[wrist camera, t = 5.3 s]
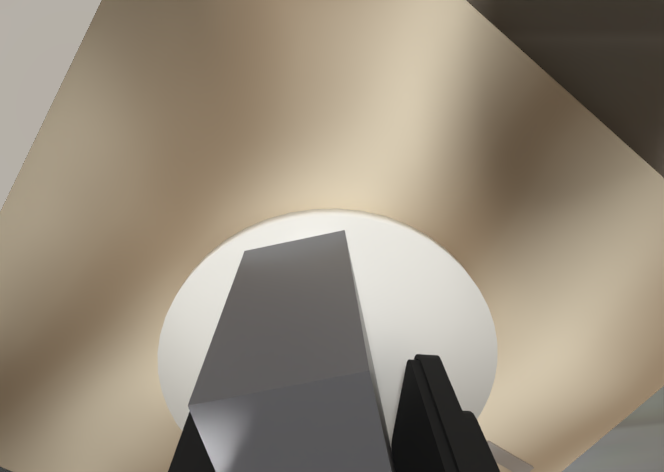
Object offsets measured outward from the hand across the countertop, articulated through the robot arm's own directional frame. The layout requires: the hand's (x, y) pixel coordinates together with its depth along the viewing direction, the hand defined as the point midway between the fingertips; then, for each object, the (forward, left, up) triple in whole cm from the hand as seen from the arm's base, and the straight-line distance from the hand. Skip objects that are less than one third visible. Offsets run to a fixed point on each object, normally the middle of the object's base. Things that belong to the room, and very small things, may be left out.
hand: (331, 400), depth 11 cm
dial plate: (0, 0, -3) cm, 3 cm away
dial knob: (0, 0, -2) cm, 2 cm away
